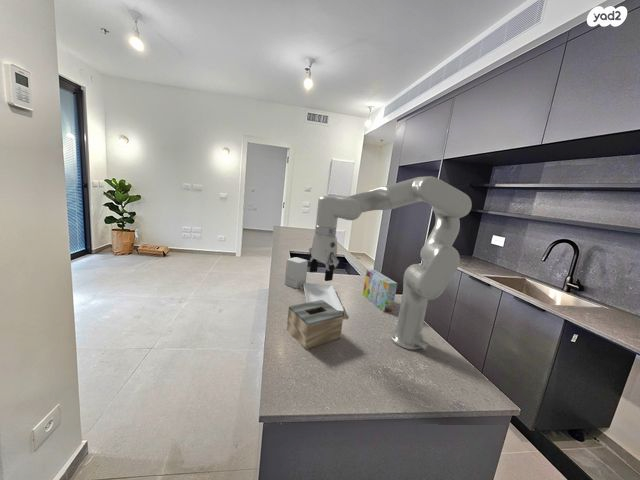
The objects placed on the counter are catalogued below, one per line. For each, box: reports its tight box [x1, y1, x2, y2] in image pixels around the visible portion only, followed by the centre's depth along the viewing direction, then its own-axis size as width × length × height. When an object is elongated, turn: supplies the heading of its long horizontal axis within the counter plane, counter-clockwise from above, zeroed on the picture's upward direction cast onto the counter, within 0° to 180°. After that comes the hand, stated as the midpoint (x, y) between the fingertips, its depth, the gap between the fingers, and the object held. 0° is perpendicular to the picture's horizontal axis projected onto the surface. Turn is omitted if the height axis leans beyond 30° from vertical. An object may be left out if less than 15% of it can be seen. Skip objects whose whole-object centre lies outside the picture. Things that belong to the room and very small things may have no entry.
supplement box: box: [284, 256, 309, 289], centre depth 150 cm, size 9×9×15 cm
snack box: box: [362, 269, 399, 313], centre depth 139 cm, size 21×6×15 cm, turn 22°
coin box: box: [286, 300, 344, 350], centre depth 103 cm, size 14×16×10 cm
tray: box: [303, 282, 345, 313], centre depth 134 cm, size 17×31×4 cm, turn 8°
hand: (320, 276), depth 99 cm, fingers open, 9 cm apart
